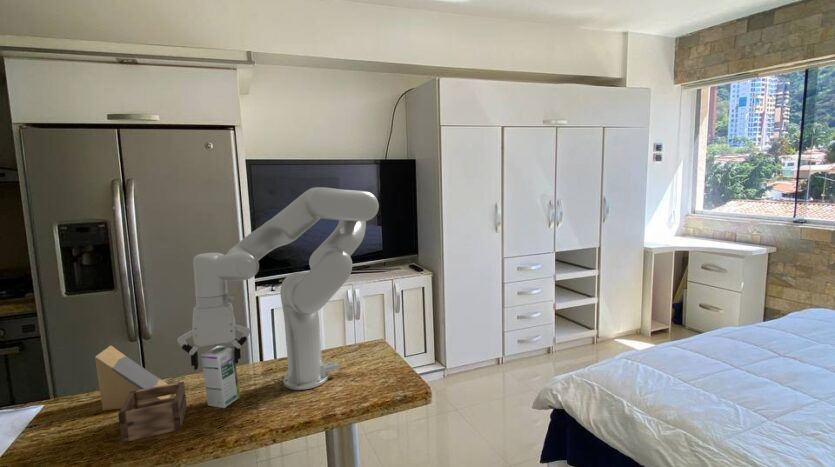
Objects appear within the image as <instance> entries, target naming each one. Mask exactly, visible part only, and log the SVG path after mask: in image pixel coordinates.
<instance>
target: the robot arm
mask: <svg viewBox="0 0 835 467" xmlns="http://www.w3.org/2000/svg"><path fill="white" fill-rule="evenodd" d="M379 208H380V204H379V201H378V199H377V197H376V195H375V194H374V193H372V192H370V191H368V190H366V191H365V190H354V189H341V188H333V187H325V186H324V187H323V186H322V187H319V186H317V187H311V188H309V189H307V190H306V191H304V192H303V193H302V194H300V196H298V197H297V198H296V199H294V200H293V201H292V202H290V203H289V205H287V206H286V207H284V208H283V209H282V210H281V211H280V212H278V213H277V214H276V215H274V216H273V217H272V218H270V219H269V220H267V221H266V222H265V223H263V224H262V225H260V226H259V227H257V228H256V229H255V230H253V231H251V232H250V233H249V234H247V235H246V236H245V237H243V239H241V240H240V241H239V242H237V243H236V244H235V245H234V246H232V247H231V248H230V249H229V250H228V251H227V252H226V254H223V253H220V252H205V253H199V254H197V255H195V256H194V258H193V260H192V261H193V262H192V264H193V266H192V267H193V275H194V277H193V278H194V292H195V304H196V305H195V306H194V307H193V310H192V329H190V330H188V332H186V333H184V334H182V335H181V336H178V338H177V339H176V342H177V343H178V345H179V346H180V347H181V349H182V350H183V351H185V352H186V353H187V354H189V356H190V362H191V363H190V364H191V367H193V368H194V370H195V371H196V370H197V371H198V368H199V355H198V352H199V351H198V349H199V348H201V347H211V346H220V345H224V344H231V345H232V346H233V348H234V354H235V363H236V365H237V364H238V363H239V360H241V357H242V355H241V348H242V346H243V345H244V344H245V342H247V340H248V338H249V336H250V333H251V329H250V328H249V327H245V326H243V325H241V324H236V318H235V312H234V307H233V304H232V302H230V301H232V300H233V301H234V300H235V295H234V294H230V293H229V291H228V289H229V288H228V281H246V280H251V279H252V278H253V277H255V276H256V275H257V274H258V272H259V269H260V263H259V261H260V260H261V259H262V258H263V257H265V256H266V255H267V254H269V253H270V252H272V251H273V250H275V249H277V248H280V247H282V246H287V245H289V244H292V243H293V242H295V241H296V240H297V239H298V238H300V237H301V236H302V235H303V234H304V233H305V232H307V231H308V230H309V229H310V228H312V227H313V226H314V225H315V224H316V223H317V222H318V221H320V220H321V219H323V220H333V221H338V224H337V226H336V227H335V229H334V230H333V231H332V232H331V233H330V234H329V235H328V237H327V238H326V239H325V240H324V241H322V243H321V244H319V246H318V247H317V248H316V249H315V250H314V251H313V252H312V253H311V255H310V257H309V261H308V265H309V268H310V270H309V272H307V273H304V272H292V273H290V274H288V275H287V276H286V277H285V278H284V279H283V281H282V283H281V285H280V290H279V291H280V292H279V294H280V300H281V301H280V302H281V307H282V312H283V319H284V320H283V321H284V332H285V344H286V345H285V346H286V358H287V368H288V369H287V370H288V374H286V375H285V376H284V377H283V385H284V387H285V388H288V389H290V390H295V391H301V390H309V389H313V388H317V387H319V386H322V385H323V384H325V383H326V382H327V381H328V380H329V372H331V371H339V370H340V366H339V362H337V363H336V362H335V363H334V362H333V361H329V362H325V361H323V359H322V357H323V356H322V346H321V343H322V342H321V331H320V317H319V311H320V310H321V309H323V307H324V306H326V304H328V302H329V301H330V300H331V299H332V298H333V297H334V296H335V294H336V293H337V292H338V291H339V290H340V289H341V287H342V286H343V285H344V284H345V283H346V282H347V280H348V279H349V278H350V275H351V273H352V270H353V260H352V257H351V256H352V255H353V253H355V251H356V250H357V249H358V247H359V246H360V245H361V243H362V242H363V240H364V237H365V234H366V228H367V227H366V226H367V222H368V221H371V220H372V219H373V218H375V217H376V215H377V214H378V212H379ZM237 331H238V332H240V333H243V334H242V336H241V337H240V339H239V338H238V337H237ZM191 337H192V343H193V345H192V346H191V345H190V344H188V343H187V342H186V340H187V339H190V338H191Z"/></svg>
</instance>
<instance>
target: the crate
mask: <svg viewBox="0 0 835 467" xmlns="http://www.w3.org/2000/svg"><path fill="white" fill-rule="evenodd" d="M167 384H168V383H167ZM166 395H171V396H172V395H175V396H172V397H171V396H170V397H169V398H166V399H161V400H156V401H150V402H145V403H140V404H139V403H138V401H140V400H146V399H151V398H156V397H161V396H166ZM187 408H188V406H187V395H186V388H185V381H180V382H175V383H169V384H168V385H163V386H158V387H152V388H147V389H141V390H136V391H131V392H130V393H129V395H128V397H127V399H126V401H125V403H124V405H123V406H122V408H120V410H119V412H118V422H119V430H120V438H121V443H126V442H131V441H135V440H141V439H145V438H149V437H153V436H154V437H155V436H157V435H162V434H167V433H171V432H177V431H181V430H182V427H183V423H184V420H185V419H184V418H185V415H186V411H187Z"/></svg>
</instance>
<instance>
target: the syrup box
mask: <svg viewBox="0 0 835 467" xmlns="http://www.w3.org/2000/svg"><path fill="white" fill-rule="evenodd" d="M200 358H201V364H202V370H203V371H202V372H203V379H204V386H205V394H206V401H207V402H206V403H207V406H210V407H212V408H213V407H215V408H220V409H221V408H222V409H226V408H227V406H230V405H231V404H232V403H233V402H235V401H237V400H238V399H240V398H241V396H240V388H239V380H238V373H237V372H238V371H237V364H236V363H235V353H234V346H229V345H215V347H213V348H211V349H209V350H207V351H205V352H203V353H201V354H200Z"/></svg>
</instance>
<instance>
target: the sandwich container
mask: <svg viewBox="0 0 835 467" xmlns="http://www.w3.org/2000/svg"><path fill="white" fill-rule="evenodd" d="M94 361H95V365H96V366H95V367H96V374H97V380H98V387H99V393H100V400H101V406H102V411H107V410H108V411H110V410H116V409H121V408H122V406H123V405H124V403H125V401H126V399H127V397H128V395H129V393H130V392H131V391H136V390H141V389H147V388H152V387H158V386H163V385H168V383H167V382H165V381H164V380H162V379H161V378H160V377H158V376H156V375H155V374H154V373H151V371H148V370H147V369H146V368H145V367H143V366H142V365H141V364H138V363H137V362H135V361H134V360H132V359H131V358H130V357H128V356H126V355H125V354H124V353H123V352H121V351H120V350H119V349H117V348H116V347H114V346H113V345H109V346H108V347H107V348H105V349H103V350H102V351H101V352H99V353H98V354H97V355H95V356H94ZM171 396H172V395H166V396H161V397H156V398H151V399H146V400H140V401H138V403H139V404H140V403H145V402H150V401H156V400H161V399H166V398H171Z"/></svg>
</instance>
